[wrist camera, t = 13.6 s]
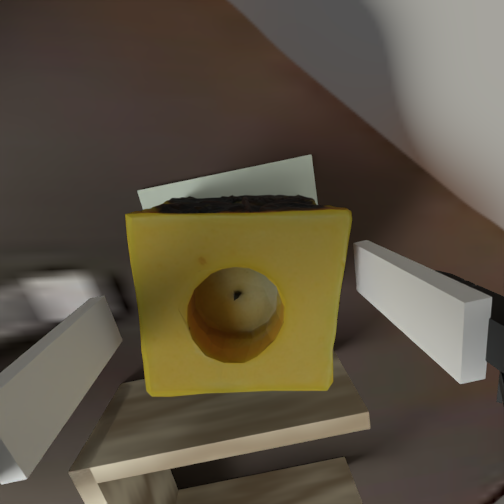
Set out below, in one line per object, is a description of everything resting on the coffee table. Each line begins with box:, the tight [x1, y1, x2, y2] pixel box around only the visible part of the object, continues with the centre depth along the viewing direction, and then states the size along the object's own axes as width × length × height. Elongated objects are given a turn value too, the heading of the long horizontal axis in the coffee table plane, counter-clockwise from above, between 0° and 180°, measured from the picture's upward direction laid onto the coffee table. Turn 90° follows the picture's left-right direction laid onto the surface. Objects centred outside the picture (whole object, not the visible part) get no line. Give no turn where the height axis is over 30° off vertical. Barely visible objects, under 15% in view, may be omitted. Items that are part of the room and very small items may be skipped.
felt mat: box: [137, 155, 318, 210], centre depth 22 cm, size 14×14×1 cm
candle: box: [125, 194, 352, 397], centre depth 17 cm, size 10×10×10 cm
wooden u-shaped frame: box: [68, 350, 370, 504], centre depth 23 cm, size 17×21×8 cm
